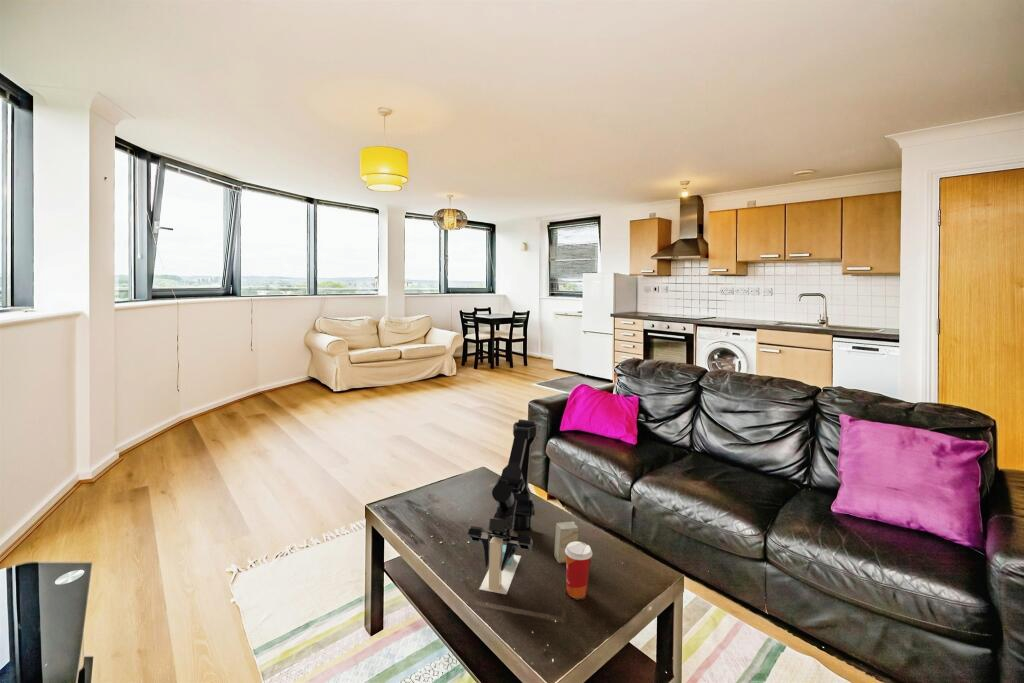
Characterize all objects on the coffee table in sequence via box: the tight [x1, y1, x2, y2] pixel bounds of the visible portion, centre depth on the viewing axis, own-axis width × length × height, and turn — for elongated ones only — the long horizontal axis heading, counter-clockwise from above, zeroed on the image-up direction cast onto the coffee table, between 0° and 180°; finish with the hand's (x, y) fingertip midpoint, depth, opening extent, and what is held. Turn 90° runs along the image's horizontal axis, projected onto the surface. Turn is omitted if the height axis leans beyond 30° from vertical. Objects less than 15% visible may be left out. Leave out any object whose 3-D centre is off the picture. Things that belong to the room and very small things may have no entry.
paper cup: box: [565, 541, 593, 598], centre depth 133 cm, size 8×8×14 cm
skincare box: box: [553, 520, 579, 564], centre depth 149 cm, size 6×4×12 cm
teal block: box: [502, 544, 515, 566], centre depth 146 cm, size 4×4×4 cm
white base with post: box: [478, 536, 522, 595], centre depth 140 cm, size 20×8×15 cm, turn 167°
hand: (494, 569), depth 132 cm, fingers open, 4 cm apart
